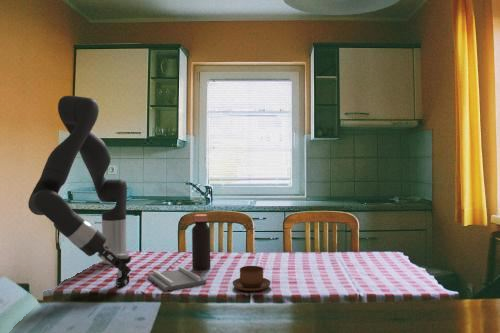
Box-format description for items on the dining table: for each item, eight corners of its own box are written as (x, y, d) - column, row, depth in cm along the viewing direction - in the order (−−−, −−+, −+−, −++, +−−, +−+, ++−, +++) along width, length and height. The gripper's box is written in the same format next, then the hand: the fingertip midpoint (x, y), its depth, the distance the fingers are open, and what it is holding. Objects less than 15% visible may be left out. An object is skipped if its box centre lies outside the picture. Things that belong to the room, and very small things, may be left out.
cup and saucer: (227, 285, 127) (227, 266, 127) (260, 280, 132) (260, 262, 132) (241, 296, 116) (240, 275, 116) (277, 291, 121) (277, 271, 121)
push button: (122, 289, 123) (123, 257, 123) (107, 287, 124) (108, 256, 124) (133, 283, 130) (134, 253, 130) (119, 281, 131) (119, 251, 131)
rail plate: (147, 278, 135) (147, 271, 135) (185, 271, 143) (185, 265, 143) (165, 291, 121) (164, 283, 121) (206, 283, 128) (206, 276, 128)
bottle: (188, 269, 146) (188, 215, 146) (198, 265, 152) (197, 213, 152) (205, 271, 143) (204, 216, 143) (213, 266, 150) (213, 214, 150)
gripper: (100, 231, 117) (141, 266, 124) (91, 225, 129) (128, 257, 136) (81, 251, 114) (124, 285, 121) (73, 243, 126) (113, 274, 133)
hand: (126, 270), depth 128 cm, fingers closed on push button, 4 cm apart
